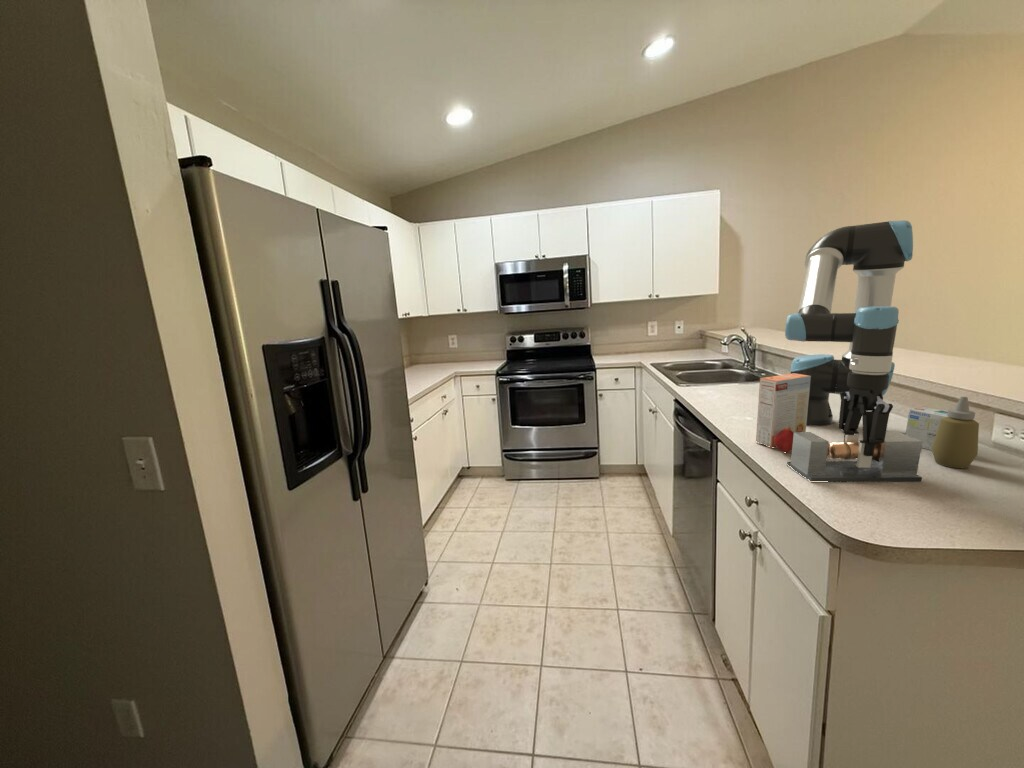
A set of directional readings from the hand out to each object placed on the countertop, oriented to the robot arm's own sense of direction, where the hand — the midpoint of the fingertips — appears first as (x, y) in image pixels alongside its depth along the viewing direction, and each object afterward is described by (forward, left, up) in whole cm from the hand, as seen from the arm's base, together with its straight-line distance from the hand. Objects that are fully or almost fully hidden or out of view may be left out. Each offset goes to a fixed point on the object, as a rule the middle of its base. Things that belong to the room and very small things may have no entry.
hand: (855, 462), depth 102 cm
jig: (0, -1, -3) cm, 3 cm away
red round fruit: (-14, -9, -3) cm, 17 cm away
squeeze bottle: (-5, +27, -3) cm, 28 cm away
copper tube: (0, +3, +1) cm, 3 cm away
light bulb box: (-17, +33, -3) cm, 37 cm away
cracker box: (-23, -6, -3) cm, 24 cm away
